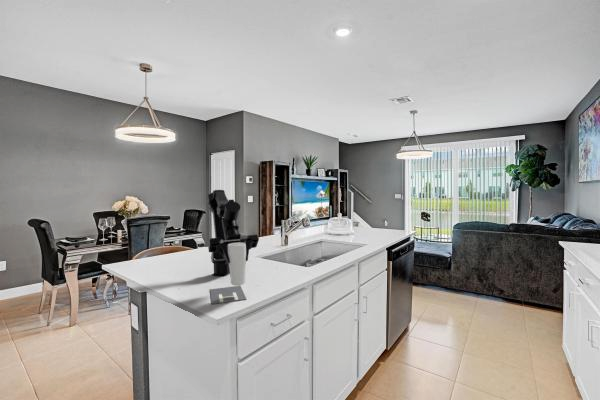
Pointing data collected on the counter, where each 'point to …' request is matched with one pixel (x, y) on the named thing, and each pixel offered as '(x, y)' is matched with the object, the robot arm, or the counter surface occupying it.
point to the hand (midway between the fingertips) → (238, 261)
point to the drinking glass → (237, 262)
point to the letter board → (227, 294)
